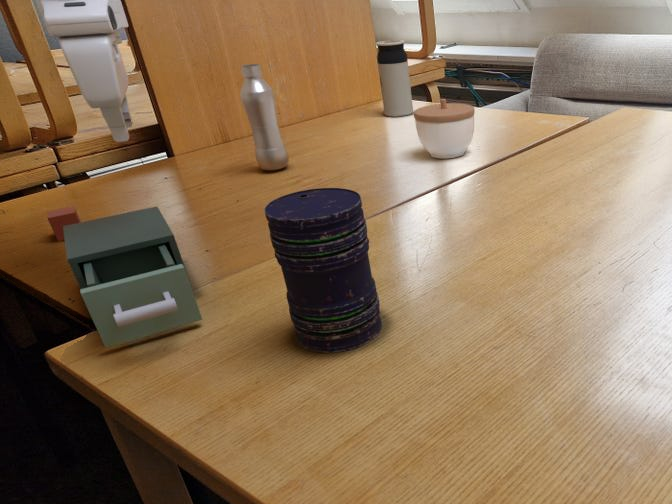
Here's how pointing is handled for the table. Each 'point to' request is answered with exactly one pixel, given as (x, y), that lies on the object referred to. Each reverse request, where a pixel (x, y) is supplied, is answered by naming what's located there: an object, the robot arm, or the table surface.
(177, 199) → the table surface
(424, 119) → the lidded bowl
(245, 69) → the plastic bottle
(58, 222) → the block
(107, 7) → the robot arm
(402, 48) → the travel mug
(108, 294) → the drawer
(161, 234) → the cabinet
